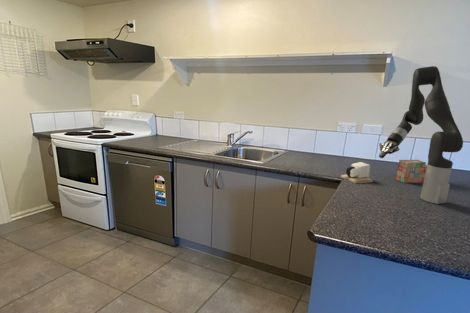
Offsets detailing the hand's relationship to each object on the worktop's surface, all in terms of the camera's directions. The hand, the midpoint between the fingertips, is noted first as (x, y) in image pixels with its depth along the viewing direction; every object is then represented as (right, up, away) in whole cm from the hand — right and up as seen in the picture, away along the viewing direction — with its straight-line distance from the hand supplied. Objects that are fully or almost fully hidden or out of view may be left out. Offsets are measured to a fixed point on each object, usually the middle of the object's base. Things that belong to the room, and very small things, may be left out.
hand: (380, 157), depth 163 cm
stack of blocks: (+19, -14, -2) cm, 24 cm away
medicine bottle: (-11, -7, -3) cm, 13 cm away
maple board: (-17, -13, -5) cm, 22 cm away
